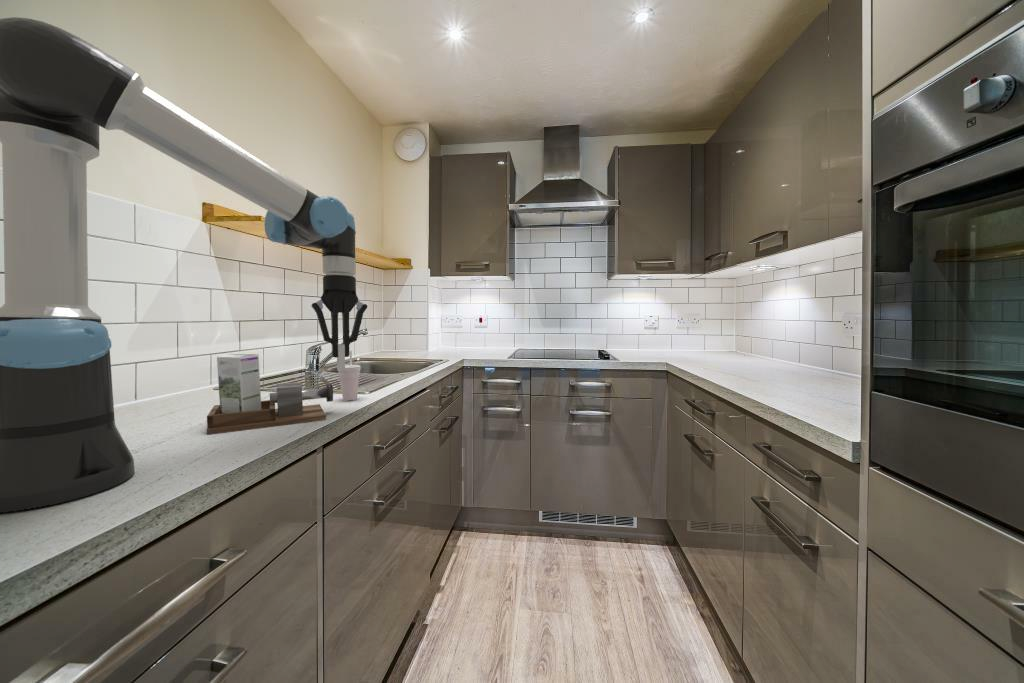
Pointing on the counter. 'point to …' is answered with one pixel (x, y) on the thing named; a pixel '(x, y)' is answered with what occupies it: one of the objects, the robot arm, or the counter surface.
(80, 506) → the counter surface
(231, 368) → the syrup box
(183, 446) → the counter surface
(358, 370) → the smoothie
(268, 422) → the jig
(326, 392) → the shaft
